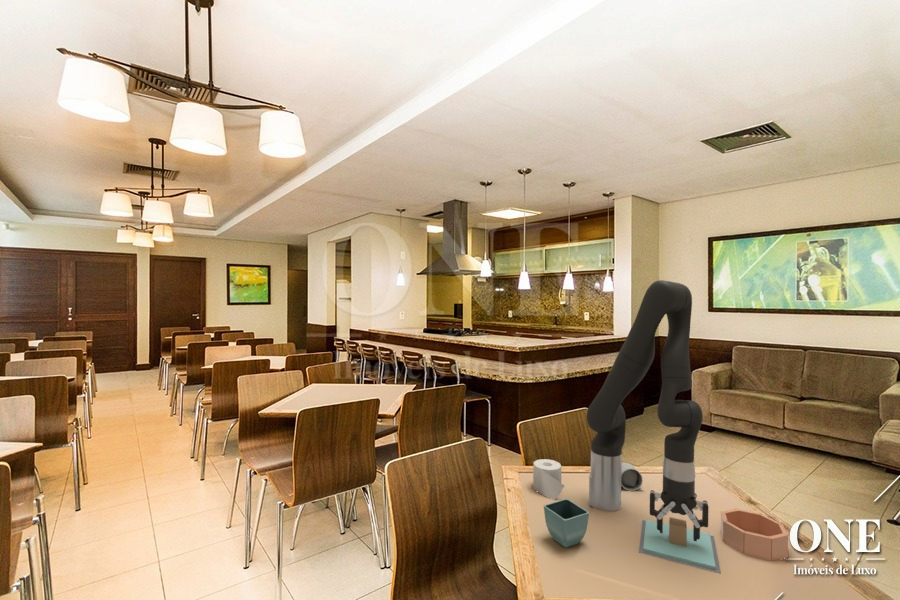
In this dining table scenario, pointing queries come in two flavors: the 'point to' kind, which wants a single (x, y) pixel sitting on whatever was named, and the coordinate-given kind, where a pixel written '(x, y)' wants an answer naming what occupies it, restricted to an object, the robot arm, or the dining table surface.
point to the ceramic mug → (630, 477)
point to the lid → (679, 543)
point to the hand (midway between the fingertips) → (677, 535)
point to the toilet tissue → (547, 478)
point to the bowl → (754, 534)
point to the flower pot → (566, 522)
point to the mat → (677, 560)
